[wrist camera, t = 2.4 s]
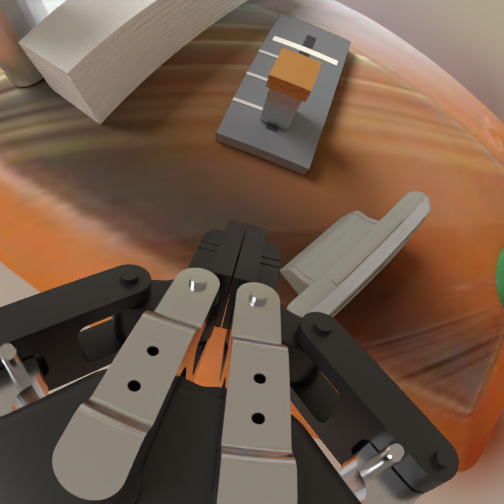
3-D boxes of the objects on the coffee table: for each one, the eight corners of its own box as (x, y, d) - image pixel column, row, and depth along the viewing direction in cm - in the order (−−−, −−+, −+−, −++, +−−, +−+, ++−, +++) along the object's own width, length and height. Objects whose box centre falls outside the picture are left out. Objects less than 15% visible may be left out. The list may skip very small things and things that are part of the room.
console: (215, 140, 32) (216, 132, 30) (277, 23, 35) (280, 12, 33) (303, 175, 33) (309, 168, 31) (345, 50, 36) (351, 41, 34)
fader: (255, 121, 31) (269, 74, 23) (267, 95, 31) (282, 47, 23) (288, 134, 31) (311, 91, 23) (298, 107, 31) (321, 63, 23)
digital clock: (286, 347, 31) (320, 376, 21) (244, 269, 32) (259, 262, 21) (406, 271, 34) (468, 265, 23) (372, 200, 34) (426, 171, 23)
